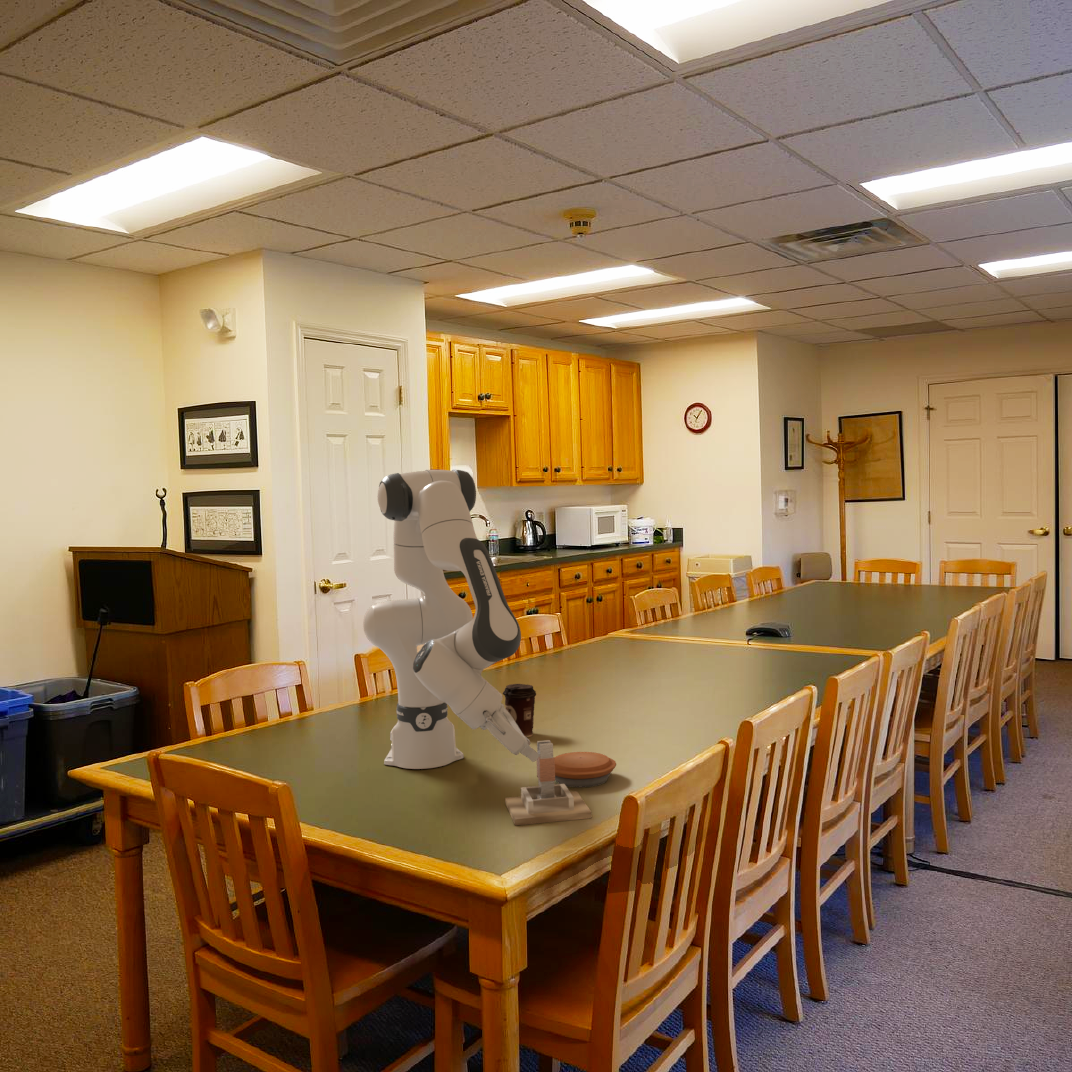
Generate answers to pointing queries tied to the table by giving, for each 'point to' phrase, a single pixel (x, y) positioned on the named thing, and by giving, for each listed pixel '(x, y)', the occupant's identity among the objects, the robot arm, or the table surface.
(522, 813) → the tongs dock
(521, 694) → the coffee cup
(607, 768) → the pie
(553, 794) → the grey orange upright bar
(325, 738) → the table surface
